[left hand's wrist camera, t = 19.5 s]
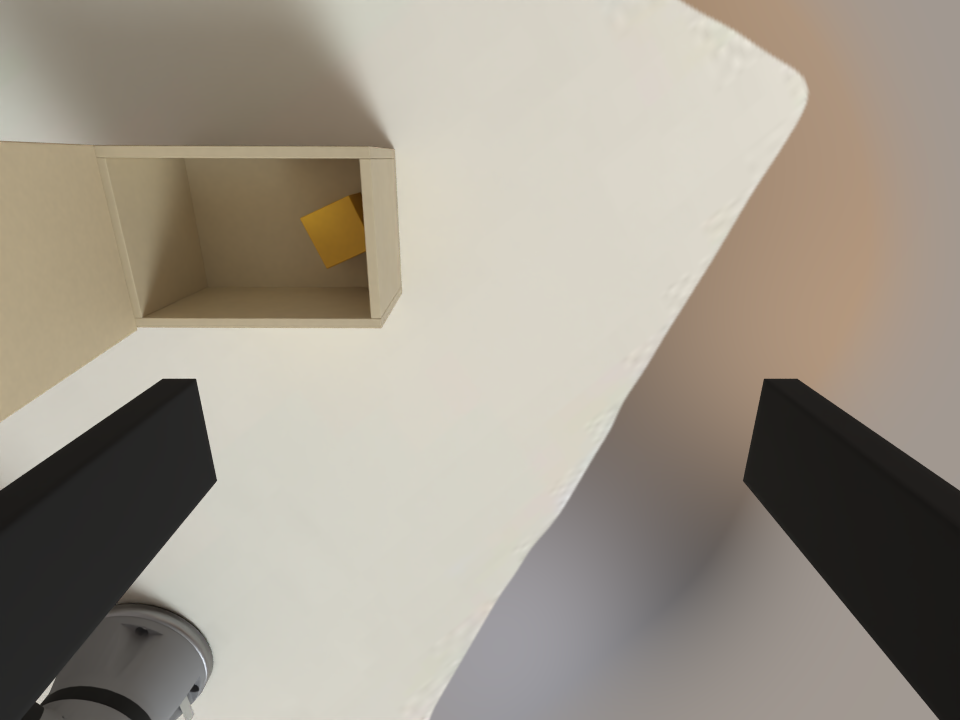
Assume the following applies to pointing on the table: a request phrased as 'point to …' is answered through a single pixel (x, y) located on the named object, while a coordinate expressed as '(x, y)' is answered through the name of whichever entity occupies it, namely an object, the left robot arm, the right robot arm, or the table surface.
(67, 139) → the table surface
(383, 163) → the chest
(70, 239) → the lid
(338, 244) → the block
